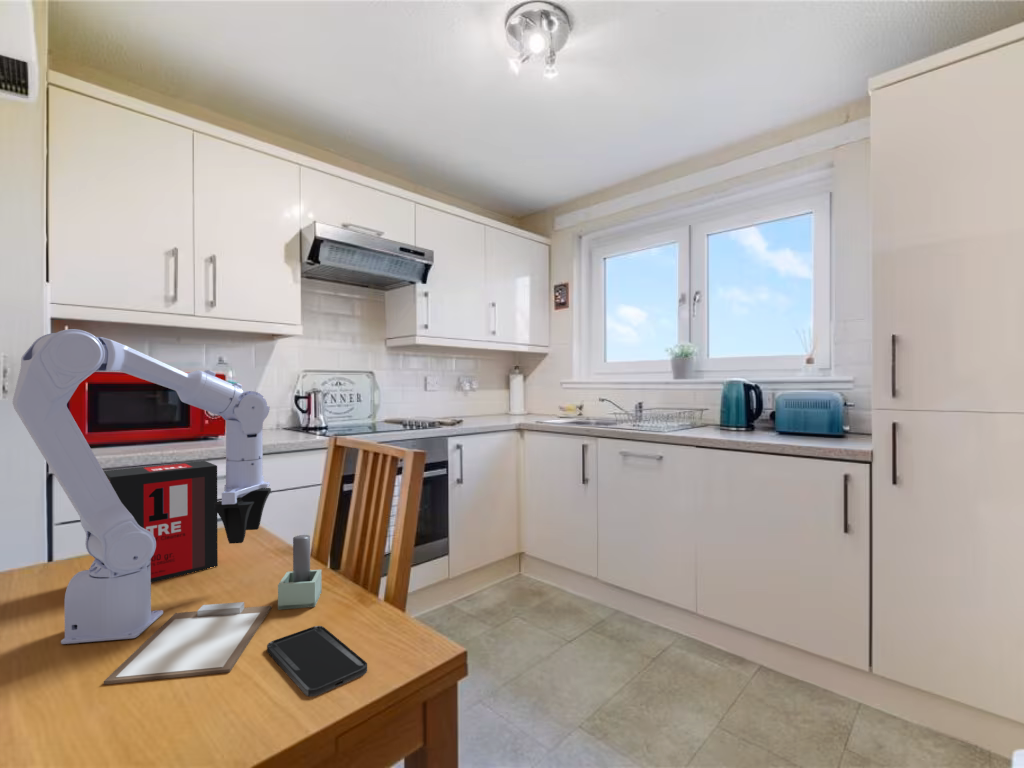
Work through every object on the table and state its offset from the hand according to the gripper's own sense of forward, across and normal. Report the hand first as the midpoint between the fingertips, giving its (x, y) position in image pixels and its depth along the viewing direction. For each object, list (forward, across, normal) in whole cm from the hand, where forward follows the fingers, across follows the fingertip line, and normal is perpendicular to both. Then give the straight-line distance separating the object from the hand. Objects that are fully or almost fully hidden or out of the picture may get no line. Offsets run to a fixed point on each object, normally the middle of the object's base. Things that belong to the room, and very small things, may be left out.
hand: (244, 535), depth 88 cm
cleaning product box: (+10, +11, +18) cm, 23 cm away
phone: (+10, -26, -17) cm, 32 cm away
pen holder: (+9, -7, -11) cm, 16 cm away
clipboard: (+9, -18, 0) cm, 20 cm away
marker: (+9, -7, -11) cm, 16 cm away
